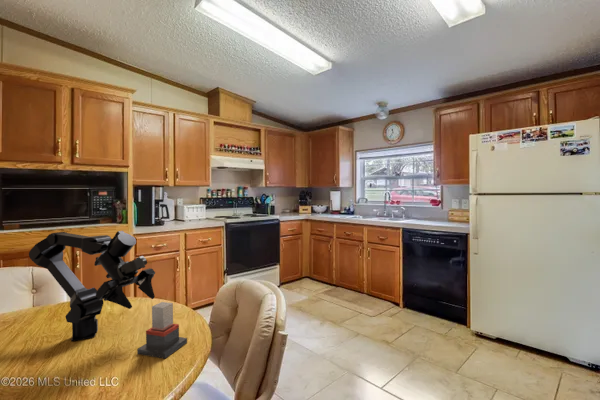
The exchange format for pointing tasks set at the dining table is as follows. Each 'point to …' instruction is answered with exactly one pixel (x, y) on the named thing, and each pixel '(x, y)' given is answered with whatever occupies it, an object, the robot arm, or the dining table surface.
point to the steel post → (162, 316)
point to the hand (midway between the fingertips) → (142, 302)
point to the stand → (162, 342)
